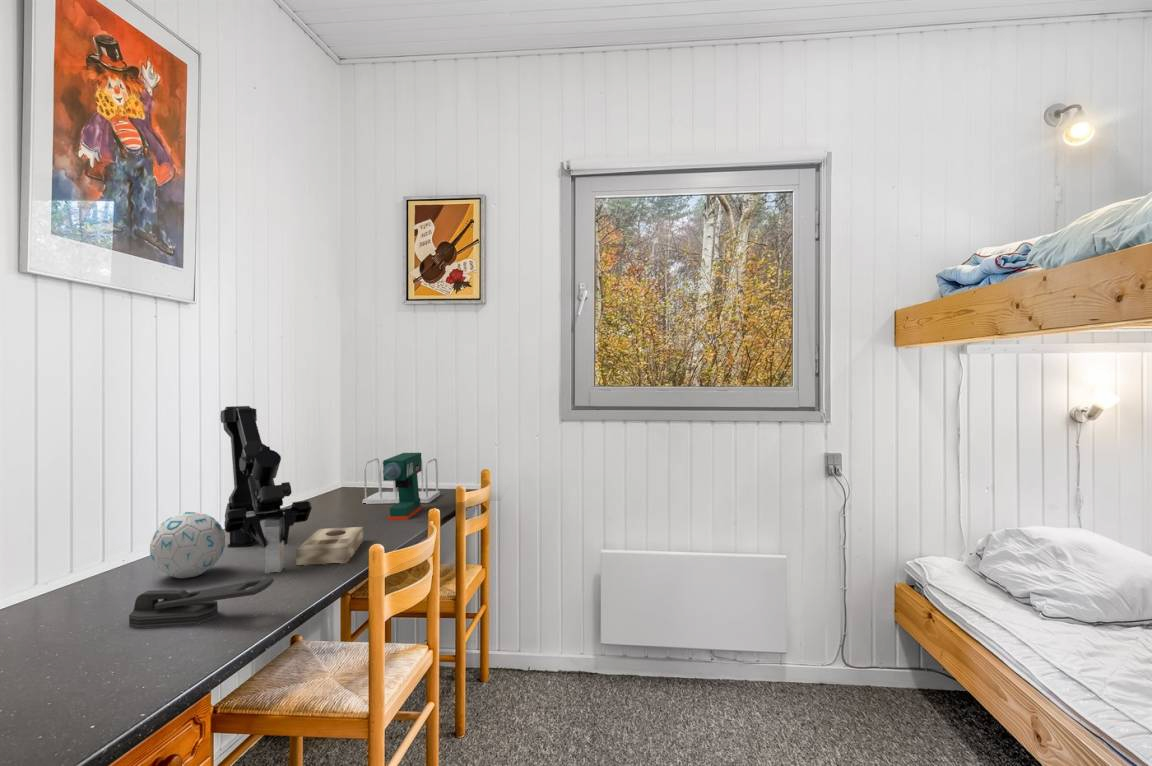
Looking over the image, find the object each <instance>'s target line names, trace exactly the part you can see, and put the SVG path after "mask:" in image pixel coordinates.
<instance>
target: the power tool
mask: <svg viewBox="0 0 1152 766" xmlns="http://www.w3.org/2000/svg"><path fill="white" fill-rule="evenodd" d="M421 459H422V452H402V453H399V454H397V455H395V456H392V457H391V456H390V457H389V458H387V459H383V461H382V462H383V464H382V467H383V469H382V475H383V476H382V477H383V478H382V482H383V481H384V482H386V481H388V482H393V481H395V488H397V492H398V493H399V503H395V504H394V505H392V506H391V507H389V515H388V516H387V520H388V521H408V520H409V519H411V518H412V517H413V516H414V515H416V514H417V513H418V512H420V511H421V510H423V505H421V504H422V503H420V498H419V491H420V490H419V479H418V473H421V471H422V469H421Z"/></svg>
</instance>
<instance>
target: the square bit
mask: <svg viewBox="0 0 1152 766" xmlns="http://www.w3.org/2000/svg"><path fill="white" fill-rule="evenodd" d="M264 537H265V541H266V547H265V548H264V564H265V567H264V570H265V571H264V573H265V574H271V573H270V572H280V571H281V570H282V569H283V568H284V569H285V563H284V561H285V559H284V558H285V556H284V553H285V552H284V547H285V545H284V541H283V517H281V518H268V519H267V520H264ZM284 569H283V570H284ZM283 570H282V571H283ZM282 571H281V572H282ZM281 572H280V573H281Z"/></svg>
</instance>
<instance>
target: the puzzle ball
mask: <svg viewBox="0 0 1152 766" xmlns="http://www.w3.org/2000/svg"><path fill="white" fill-rule="evenodd" d="M225 547H226V534H225V531H224V529H223V527H222V525H221V524H220V522H218V520H216V519H215V518H214V517H212V516H210V515H208V514H206V513H202V512H197V511H185V512H181V513H178V514H177V515H174V516H170V517H169V518H168V519H166V520H165V521H163V522H162V523H161V524H160V526H159V527H158V528H156V530H155V531H154V533H153V536H152V538H151V540H150V543H149V555H150V558H151V560H152V563H153V565H154V567H156V569H158V571H160V572H162V573H164V574H166V575H168V576H171V577H174V578H175V579H189V578H195V577H197V576H200V575H202V574H204V573H205V572H206V571H207V570H209V569H211V568H212V567H213V566H215V564H216V563H218V562H219V560H220V558H221V557H222V556H223V553H224V550H225ZM221 559H222V558H221Z"/></svg>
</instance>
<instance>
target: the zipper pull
mask: <svg viewBox="0 0 1152 766" xmlns="http://www.w3.org/2000/svg"><path fill="white" fill-rule="evenodd" d="M273 583H274V577H273V576H271V577H265V578H260V579H254V580H249V581H248V580H247V581H245V582H239V583H232V584H228V585H222V586H216V587H210V588H206V589H205V588H204V589H200V590H192V591H187V590H186V589H156V590H155V589H153V590H152V589H151V590H146V591H144V592H142V593H141V594H139V595H137V596H136V599H135V601H134V607H133V609H132V612H131V613H129V615H128V626H129V627H131V628H136V629H149V628H162V627H163V628H164V627H176V626H177V627H180V626H194V625H195V624H197V625H200V624H199V623H201V624H203V623H206V622H208V620H209V621H211V619H212V620H213V619H215V618H217V615H218V604H219V603H218V601H221V600H229V599H235V598H243V597H250V596H255V595H257V594H260V593H261V592H263V591H264V590H266V589H267V588H269V587H270V586H271V585H272V584H273ZM218 616H219V615H218ZM214 617H215V618H214ZM205 621H206V622H205ZM202 622H203V623H202Z"/></svg>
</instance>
